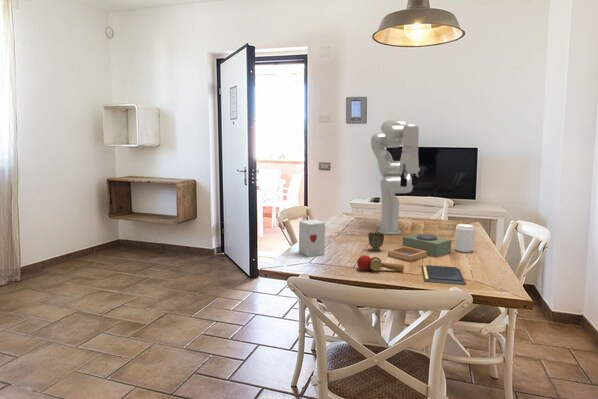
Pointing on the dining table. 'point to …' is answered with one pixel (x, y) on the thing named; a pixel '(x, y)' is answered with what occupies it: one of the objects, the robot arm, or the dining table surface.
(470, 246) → the beverage can
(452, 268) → the wallet
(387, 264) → the kendama
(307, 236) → the supplement box
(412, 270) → the dining table surface
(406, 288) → the dining table surface
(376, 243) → the dark bronze domed piece
